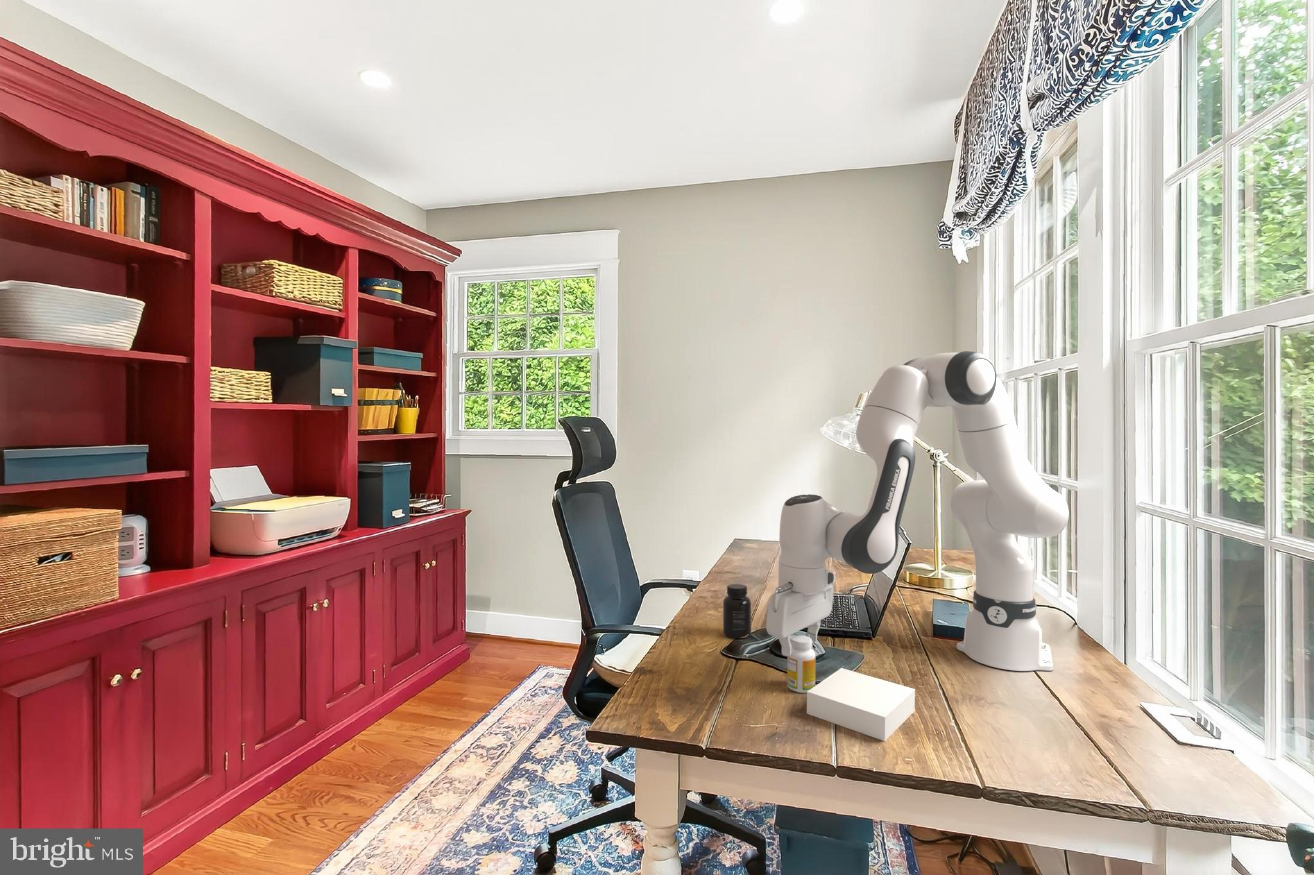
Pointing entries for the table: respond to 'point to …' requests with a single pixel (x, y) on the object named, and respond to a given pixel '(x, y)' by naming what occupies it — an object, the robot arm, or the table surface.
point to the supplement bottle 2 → (801, 665)
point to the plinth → (861, 703)
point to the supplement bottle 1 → (736, 612)
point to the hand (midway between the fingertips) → (799, 648)
